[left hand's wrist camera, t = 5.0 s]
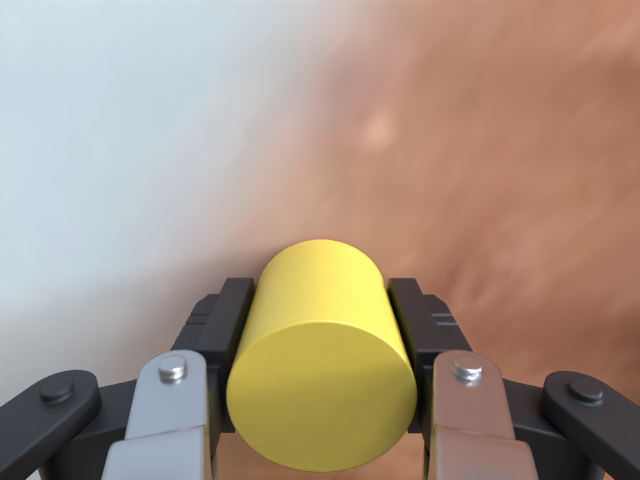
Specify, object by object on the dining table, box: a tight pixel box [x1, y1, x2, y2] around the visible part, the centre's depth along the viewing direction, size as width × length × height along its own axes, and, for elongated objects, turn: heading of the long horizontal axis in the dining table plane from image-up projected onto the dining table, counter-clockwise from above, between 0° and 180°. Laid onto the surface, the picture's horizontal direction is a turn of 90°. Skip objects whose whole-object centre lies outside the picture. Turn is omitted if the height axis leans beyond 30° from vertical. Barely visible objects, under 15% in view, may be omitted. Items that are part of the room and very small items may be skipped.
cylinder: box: [226, 240, 417, 472], centre depth 10 cm, size 4×4×4 cm
